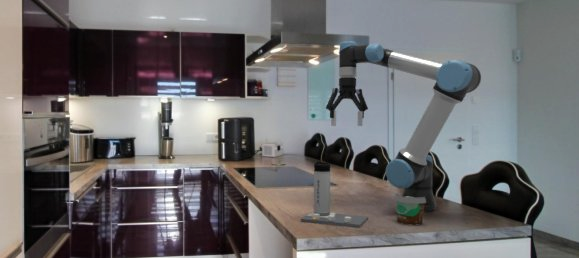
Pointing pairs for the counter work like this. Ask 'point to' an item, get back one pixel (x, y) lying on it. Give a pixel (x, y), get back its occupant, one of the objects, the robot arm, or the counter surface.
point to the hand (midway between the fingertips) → (346, 126)
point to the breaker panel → (336, 219)
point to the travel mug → (322, 188)
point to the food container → (409, 209)
